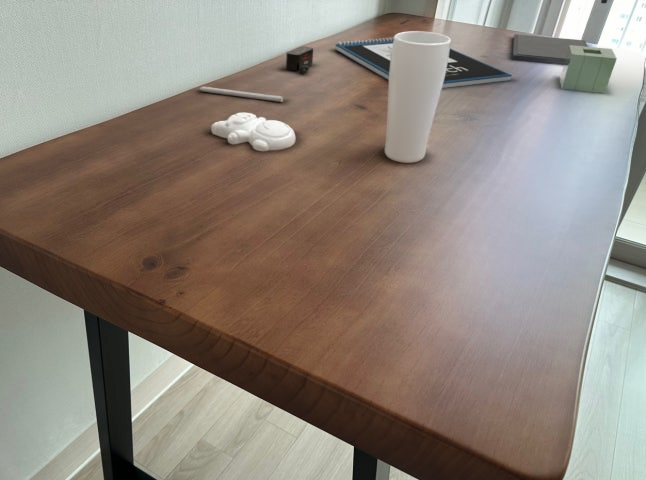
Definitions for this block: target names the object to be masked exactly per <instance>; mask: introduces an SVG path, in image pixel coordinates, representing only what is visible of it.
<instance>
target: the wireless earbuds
mask: <svg viewBox="0 0 646 480" xmlns="http://www.w3.org/2000/svg"><path fill="white" fill-rule="evenodd" d="M313 59H314V48H313V47H310V46H302V45H301V46H298V47H295V48H294V49H292V50H289V51H287V52H286V57H285V69H286V71H289V72H295V73H299V74H306V73H307V72H308V71H309V68H310V67H311V66H312V65H313V64H314V63H313V61H314V60H313Z"/></svg>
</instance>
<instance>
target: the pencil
mask: <svg viewBox="0 0 646 480" xmlns="http://www.w3.org/2000/svg"><path fill="white" fill-rule="evenodd" d="M198 89H199V90H200V91H201V92H204V93H211V94H219V95H226V96H234V97H241V98H248V99H255V100H264V101H271V102H272V101H273V102H277V103H282V102H283V101H284V97H283V96H280V95H271V94H263V93H255V92H248V91H241V90H233V89H232V90H231V89H225V88H217V87H211V86H210V87H209V86H202V87H199V88H198Z"/></svg>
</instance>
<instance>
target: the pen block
mask: <svg viewBox="0 0 646 480" xmlns="http://www.w3.org/2000/svg"><path fill="white" fill-rule="evenodd" d="M617 59H618V58H617V56H616V54H615V52H614V50H613V49H612V48H607V47H595V46H588V47H585V46H575V45H569V48H568V51H567V55H566V58H565V61H564V65H562V69H561V72H560V75H559V83H560V87H561V90H571V91H580V92H588V93H599V94H605V93H606V91H607V88H608V85H609V82H610V79H611V76H612V73H613V71H614V68H615V65H616V63H617Z"/></svg>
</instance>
